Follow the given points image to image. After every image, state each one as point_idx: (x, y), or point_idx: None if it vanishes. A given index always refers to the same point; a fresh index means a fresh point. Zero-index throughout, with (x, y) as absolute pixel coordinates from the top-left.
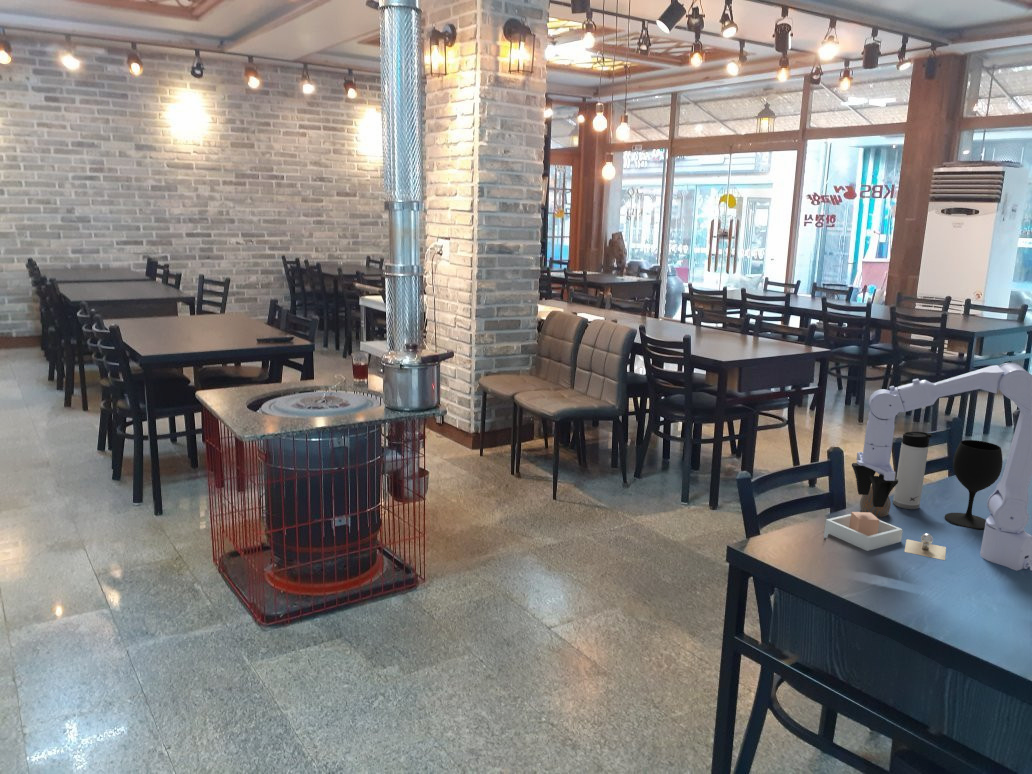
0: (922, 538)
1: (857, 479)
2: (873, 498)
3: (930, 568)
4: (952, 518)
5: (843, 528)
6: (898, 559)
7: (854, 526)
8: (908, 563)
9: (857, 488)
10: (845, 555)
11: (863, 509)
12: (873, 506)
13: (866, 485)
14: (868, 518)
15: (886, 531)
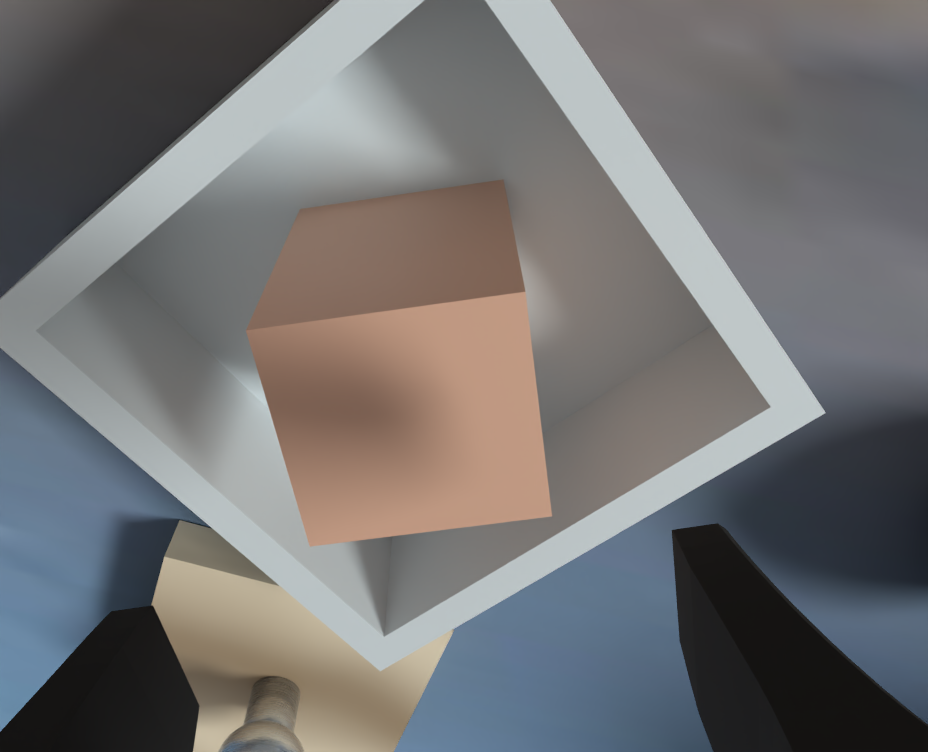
0: (236, 747)
1: (806, 714)
2: (48, 704)
3: (55, 632)
4: None
5: (237, 90)
6: (134, 479)
7: (376, 254)
8: (82, 526)
9: (752, 571)
10: (15, 31)
11: None
12: None
13: (731, 750)
14: (319, 445)
15: (264, 534)
